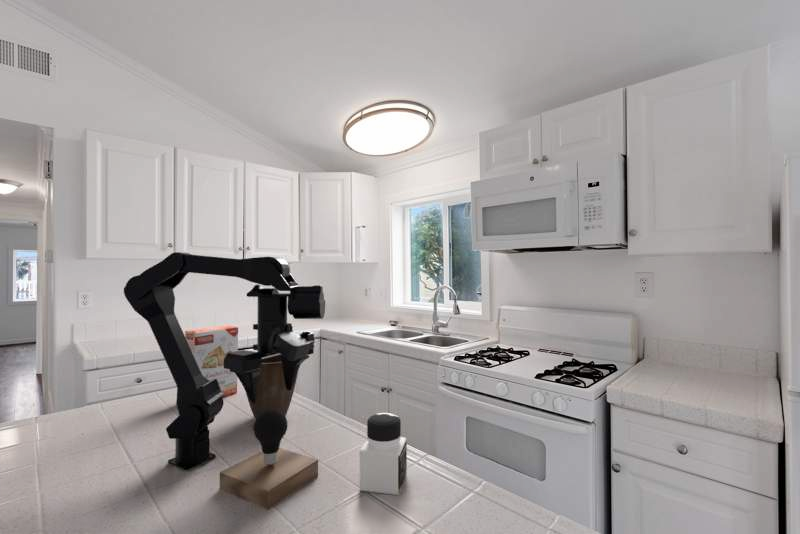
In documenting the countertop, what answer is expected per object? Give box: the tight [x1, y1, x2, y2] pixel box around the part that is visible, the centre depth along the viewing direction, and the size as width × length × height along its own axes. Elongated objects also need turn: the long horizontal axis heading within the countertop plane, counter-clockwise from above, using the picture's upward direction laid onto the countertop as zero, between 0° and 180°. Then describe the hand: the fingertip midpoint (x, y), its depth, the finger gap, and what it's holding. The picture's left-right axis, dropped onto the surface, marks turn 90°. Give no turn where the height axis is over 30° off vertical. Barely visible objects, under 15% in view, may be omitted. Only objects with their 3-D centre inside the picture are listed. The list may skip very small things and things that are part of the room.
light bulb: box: [253, 409, 288, 466], centre depth 72 cm, size 6×6×10 cm
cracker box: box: [184, 325, 239, 398], centre depth 119 cm, size 14×6×21 cm, turn 147°
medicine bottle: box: [359, 412, 408, 496], centre depth 72 cm, size 7×7×12 cm
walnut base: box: [219, 447, 319, 510], centre depth 72 cm, size 12×12×3 cm
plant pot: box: [245, 352, 299, 421], centre depth 103 cm, size 15×15×16 cm
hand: (272, 396), depth 80 cm, fingers open, 9 cm apart
